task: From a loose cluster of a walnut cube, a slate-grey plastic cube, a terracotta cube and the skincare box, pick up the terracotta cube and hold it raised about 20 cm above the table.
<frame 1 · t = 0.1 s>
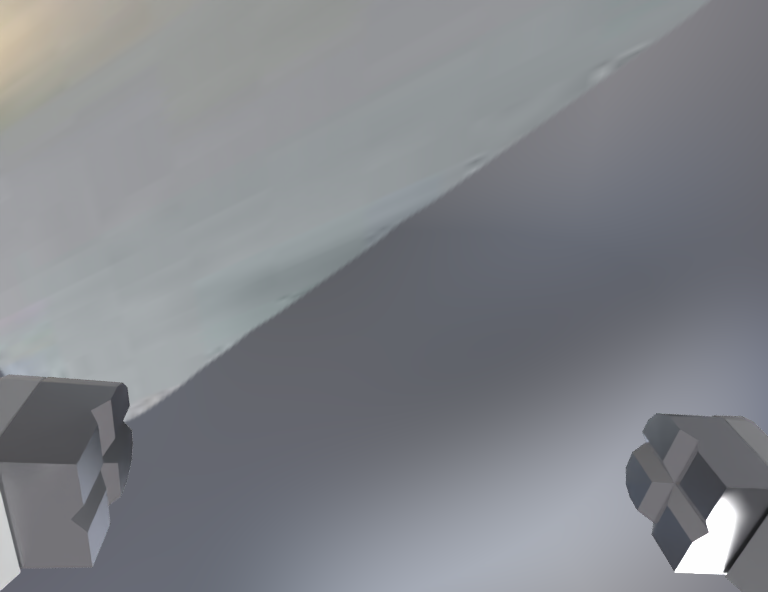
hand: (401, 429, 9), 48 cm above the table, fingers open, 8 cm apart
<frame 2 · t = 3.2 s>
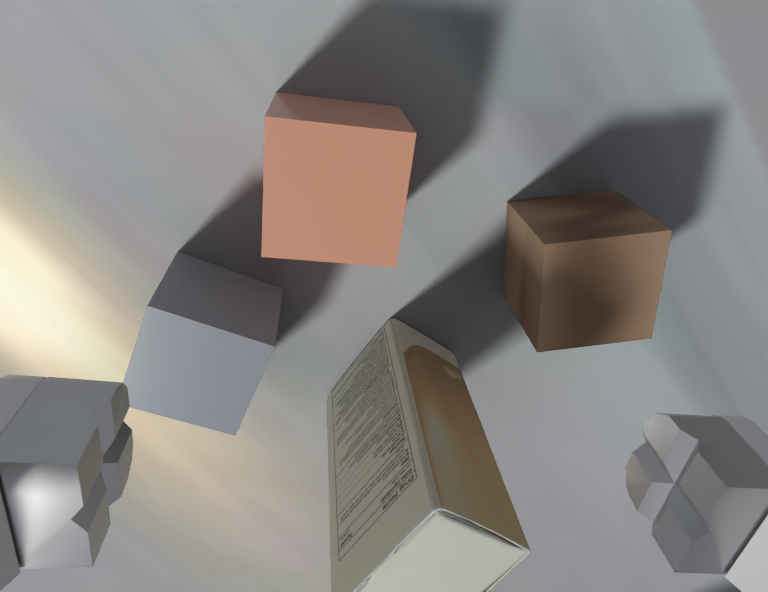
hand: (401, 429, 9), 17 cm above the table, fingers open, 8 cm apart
walnut cube: (556, 244, 27), on the table
terracotta cube: (333, 159, 24), on the table
slate cube: (215, 312, 27), on the table
skincare box: (390, 370, 30), on the table
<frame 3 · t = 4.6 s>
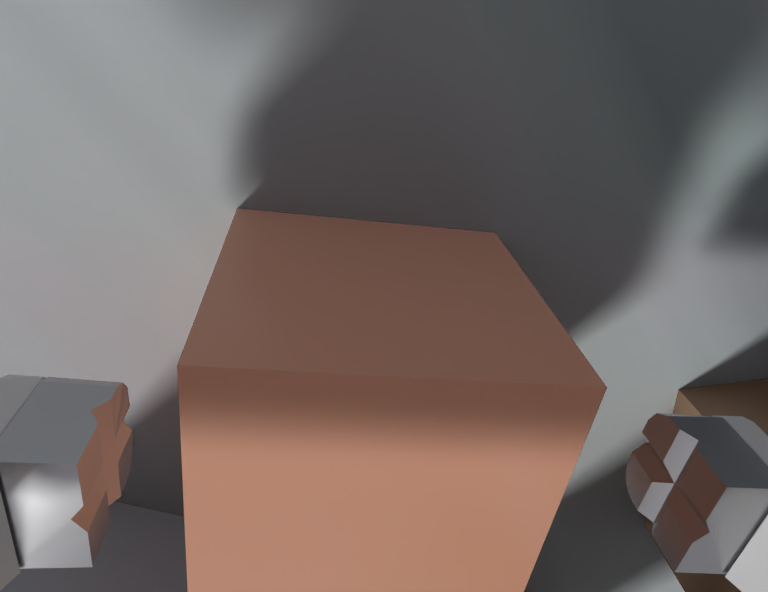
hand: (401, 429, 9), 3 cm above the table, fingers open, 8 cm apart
walnut cube: (748, 449, 15), on the table
terracotta cube: (356, 329, 12), on the table
slate cube: (136, 570, 15), on the table
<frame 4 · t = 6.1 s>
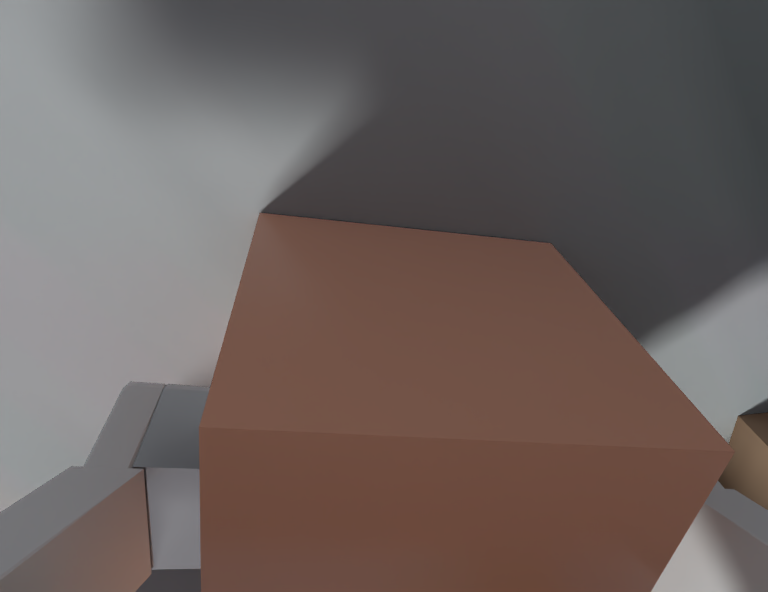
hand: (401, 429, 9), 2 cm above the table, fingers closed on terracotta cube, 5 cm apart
terracotta cube: (388, 351, 10), on the table, touching gripper
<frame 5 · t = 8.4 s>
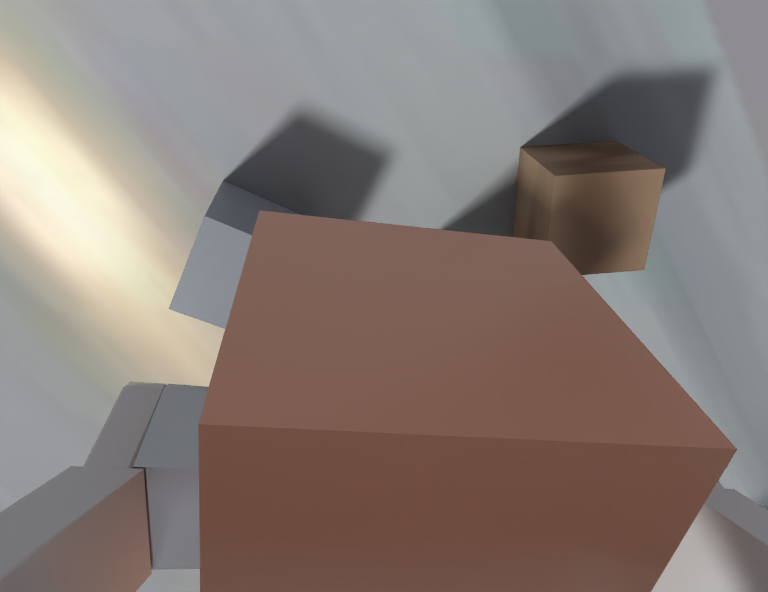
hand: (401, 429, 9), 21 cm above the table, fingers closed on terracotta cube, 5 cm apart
walnut cube: (561, 190, 30), on the table
terracotta cube: (388, 349, 10), point 19 cm above the table, touching gripper
slate cube: (252, 241, 30), on the table
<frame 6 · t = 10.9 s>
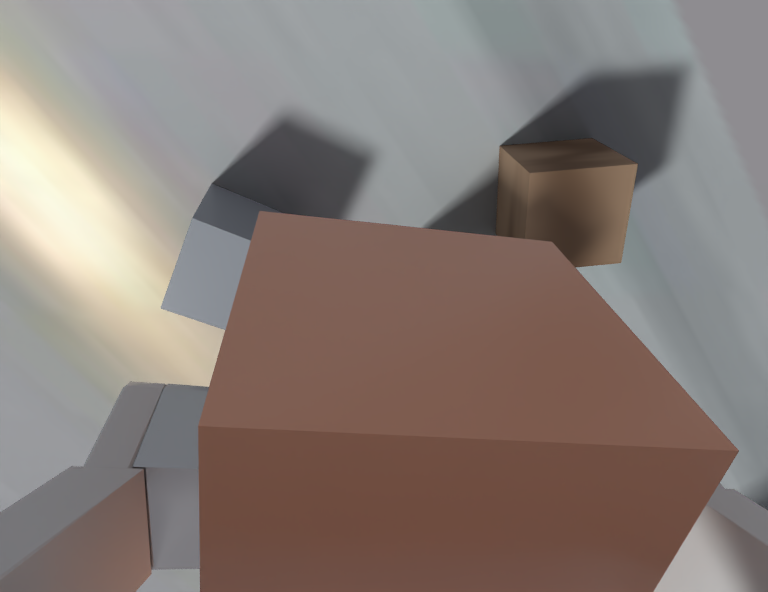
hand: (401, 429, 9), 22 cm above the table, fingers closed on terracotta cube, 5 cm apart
walnut cube: (541, 187, 31), on the table
terracotta cube: (389, 350, 10), point 20 cm above the table, touching gripper
slate cube: (242, 241, 30), on the table
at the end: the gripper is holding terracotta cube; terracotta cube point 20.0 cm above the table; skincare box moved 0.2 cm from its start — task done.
